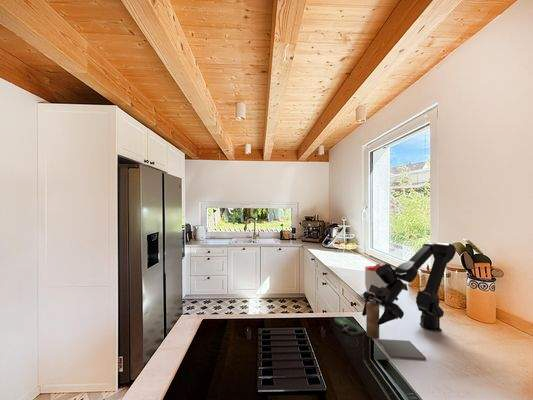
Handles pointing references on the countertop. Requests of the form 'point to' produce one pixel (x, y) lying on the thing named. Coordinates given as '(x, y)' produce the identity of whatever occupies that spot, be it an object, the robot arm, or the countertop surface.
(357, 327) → the gun
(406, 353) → the trivet mat
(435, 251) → the robot arm
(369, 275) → the citrus juicer
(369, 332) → the pepper mill
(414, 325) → the countertop surface
